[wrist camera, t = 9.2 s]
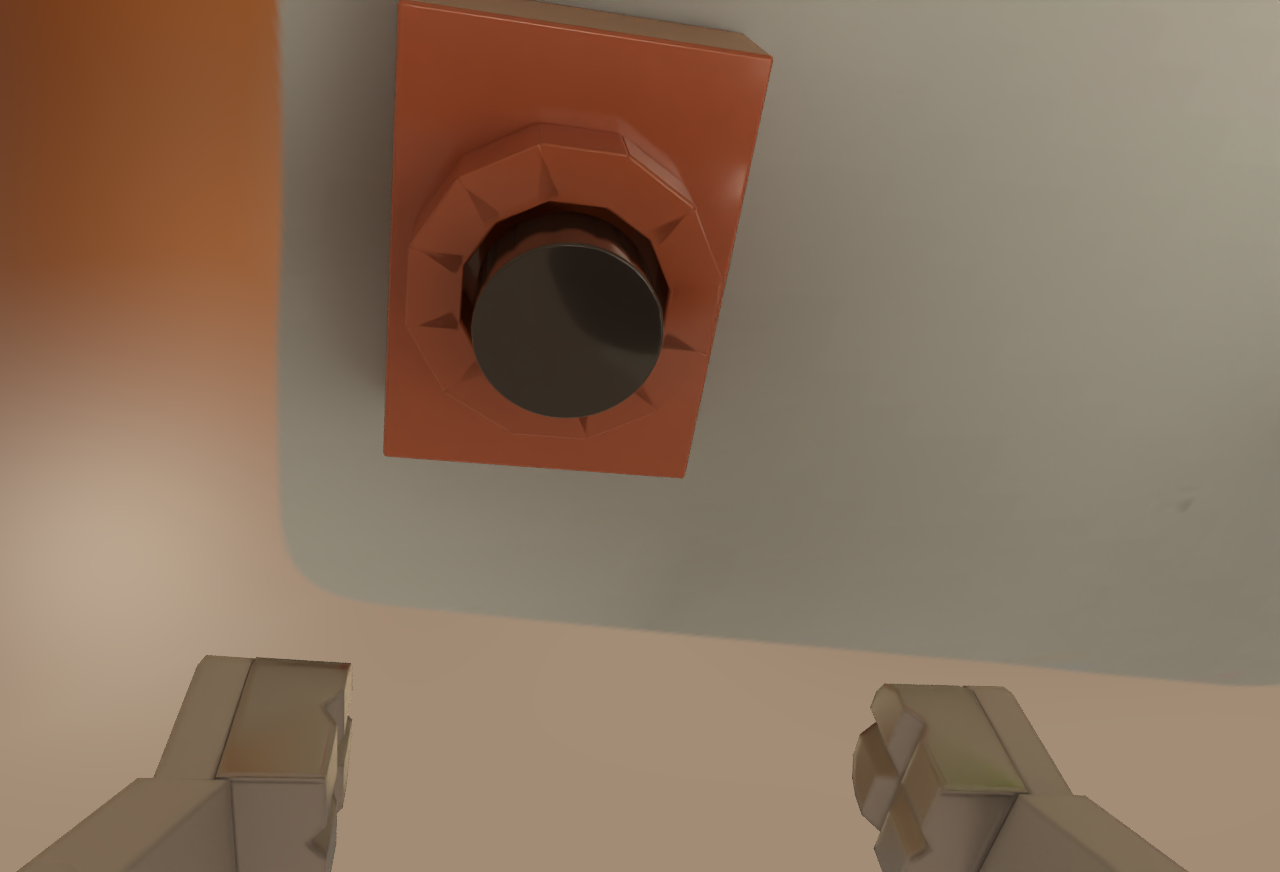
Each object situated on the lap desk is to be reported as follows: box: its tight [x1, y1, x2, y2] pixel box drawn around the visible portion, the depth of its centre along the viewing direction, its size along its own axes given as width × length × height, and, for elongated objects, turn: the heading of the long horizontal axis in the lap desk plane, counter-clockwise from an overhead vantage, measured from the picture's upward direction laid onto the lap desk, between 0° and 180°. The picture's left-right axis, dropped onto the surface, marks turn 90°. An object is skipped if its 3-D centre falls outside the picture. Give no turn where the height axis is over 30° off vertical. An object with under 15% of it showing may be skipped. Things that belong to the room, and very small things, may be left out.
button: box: [471, 212, 664, 418], centre depth 21 cm, size 4×4×2 cm
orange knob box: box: [383, 0, 773, 478], centre depth 24 cm, size 11×8×5 cm
